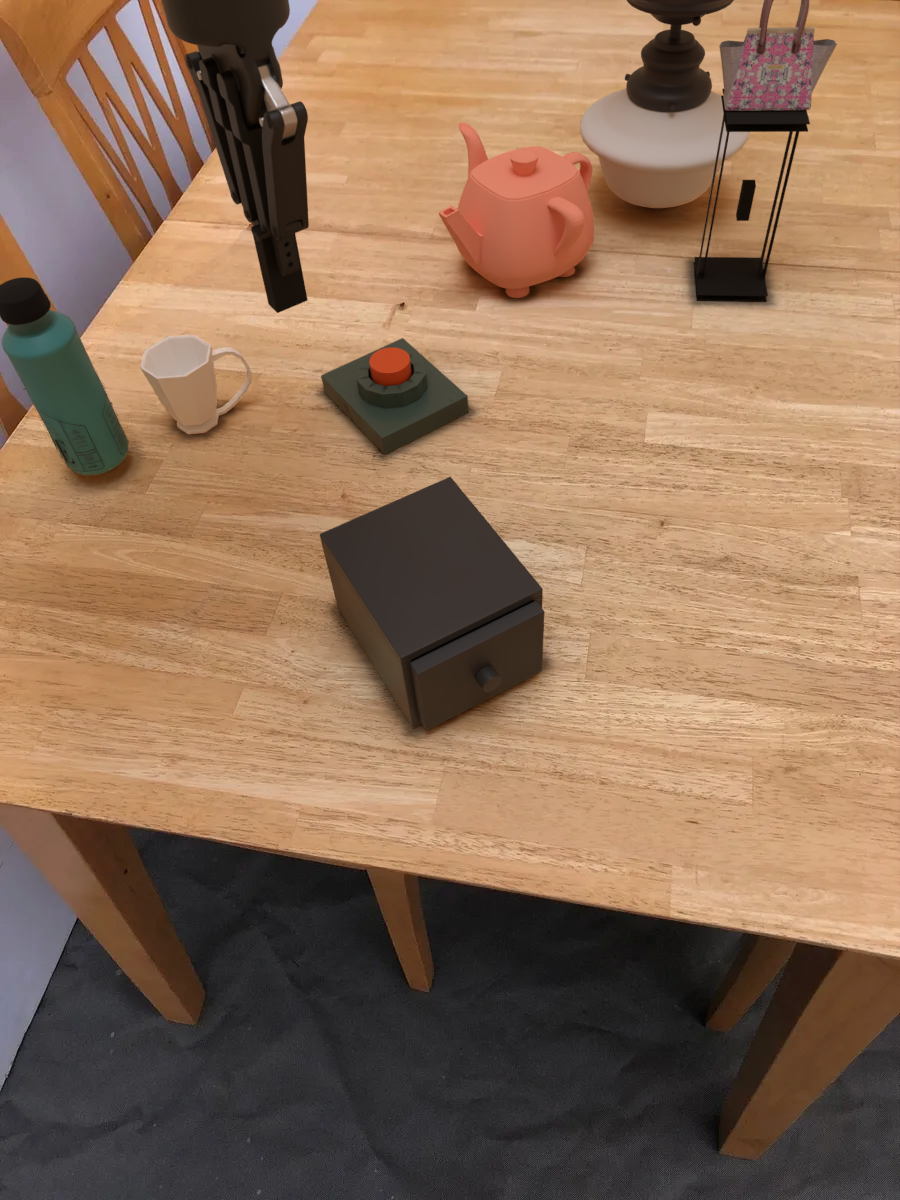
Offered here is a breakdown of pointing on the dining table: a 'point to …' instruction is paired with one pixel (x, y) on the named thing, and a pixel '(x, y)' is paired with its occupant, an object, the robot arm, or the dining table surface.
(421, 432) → the button block
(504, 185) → the teapot
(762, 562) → the dining table surface
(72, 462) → the beverage bottle
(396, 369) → the button
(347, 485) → the dining table surface
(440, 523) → the cabinet
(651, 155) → the light fixture
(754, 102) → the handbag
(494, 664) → the drawer
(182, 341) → the cup
